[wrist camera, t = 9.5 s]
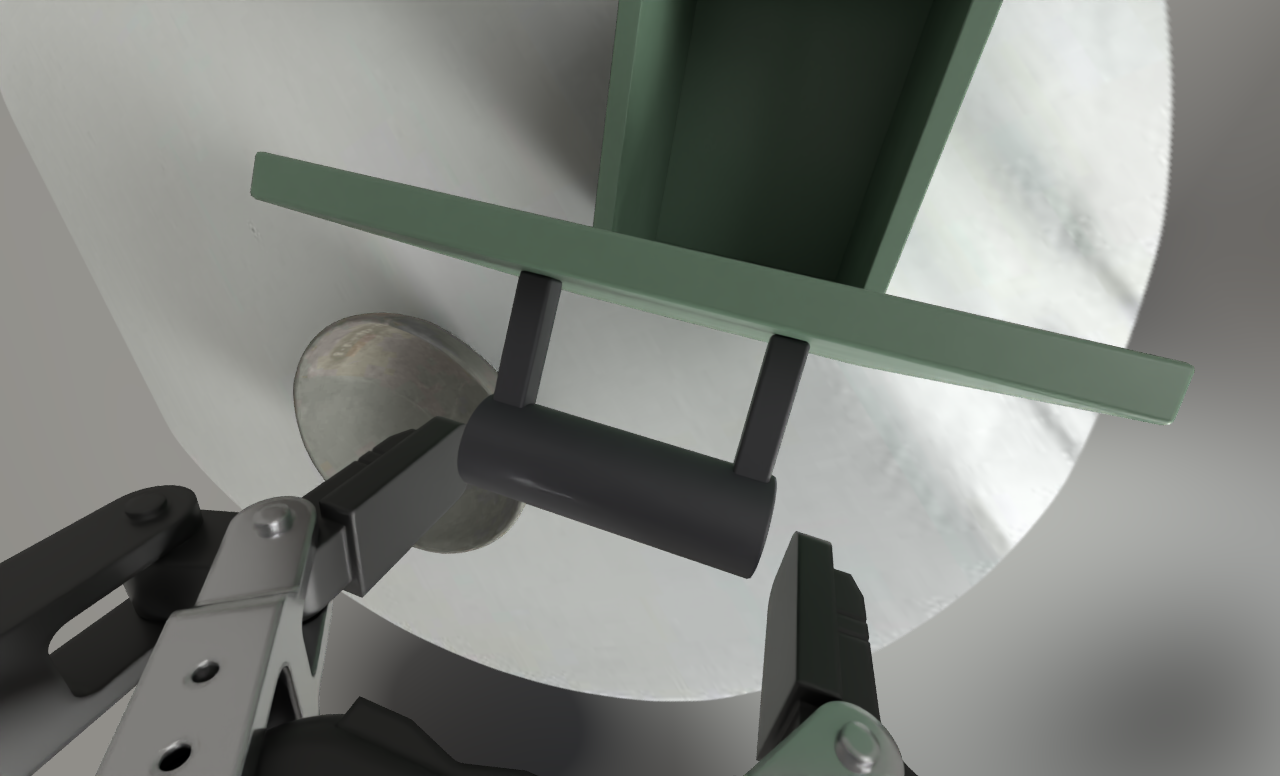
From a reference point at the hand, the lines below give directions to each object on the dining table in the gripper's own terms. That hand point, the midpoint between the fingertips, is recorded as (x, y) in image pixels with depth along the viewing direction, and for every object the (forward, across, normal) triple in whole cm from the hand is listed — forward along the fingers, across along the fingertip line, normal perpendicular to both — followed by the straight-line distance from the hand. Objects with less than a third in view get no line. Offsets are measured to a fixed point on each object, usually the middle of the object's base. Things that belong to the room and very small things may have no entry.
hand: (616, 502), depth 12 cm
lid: (+7, 0, -3) cm, 7 cm away
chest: (+26, 0, -8) cm, 28 cm away
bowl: (+26, +22, +18) cm, 38 cm away
